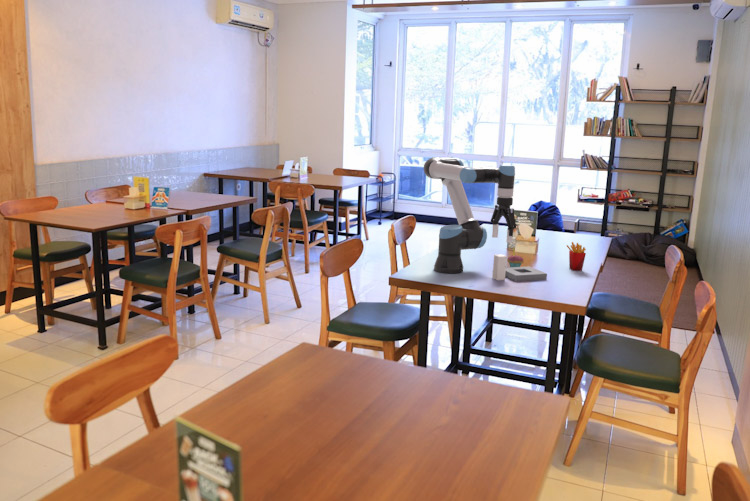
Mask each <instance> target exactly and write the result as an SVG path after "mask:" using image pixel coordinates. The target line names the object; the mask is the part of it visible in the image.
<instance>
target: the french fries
mask: <svg viewBox="0 0 750 501" xmlns="http://www.w3.org/2000/svg"><path fill="white" fill-rule="evenodd" d="M566 247H567V249H568V251H569V252H568V253H569V254H568V257H569V258H568V259H569V260H568V261H569V270H571V271H574V272H577V271H579V272H582V271H583V267H584V263H585V259H586V254H587V253H586V252H585V251H586V247H585V246H583V247H582V244H579V242H576V244H575V243H574V241H572V242H571V245H570V246H569V245H568V244H566Z"/></svg>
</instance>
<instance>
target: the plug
mask: <svg viewBox="0 0 750 501" xmlns="http://www.w3.org/2000/svg"><path fill="white" fill-rule="evenodd" d="M507 257H508V256H507V255H504V254H503V253H502V254H494V255H493V267H492V277H491V278H492V279H493V278H494V279H493V280H495V279H496V280H495V281H505V280H506V277H505V272H506V268H507V260H508V258H507Z"/></svg>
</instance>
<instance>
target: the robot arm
mask: <svg viewBox="0 0 750 501" xmlns="http://www.w3.org/2000/svg"><path fill="white" fill-rule="evenodd" d="M423 173H424V175H425V176H426V177H427V178H429V179H433V180H434V179H435V180H441V183H442V185H443V186H445V187H446V189H447V192H448V195H449V198H450V201H451V204H452V208H453V211H454V214H455V217H456V220H457V224H447V225H444V226H441V228H440V229H439V234H438V249H437V250H438V252H437V253H438V254H437V257H436V260H435V262H434V266H433V270H434V271H435V272H439V273H443V274H460V273H464V265H463V261H462V255H461V254H462V250H465V251H466V250H476V249H481V248H482V247H484V246H485V245H486V243H487V240H488V232H487V229H486V228H485V227H484V226H482V225H480V223H479V220H478V219H475V218H474V215H473V211H472V209H471V205H470V202H469V200H468V197H467V193H466V191H465V188H464V185H463V184H489V183H491V184H497V198H496V204H495V205H494V210H493V213H492V215H491V219H490V223H491V224H492V235H491V237H492V238H499V237H498V236H499V226H500V225H499V222H500V220H501V219H502V217H503V218H504V219H505V222H506V225H507V230H506V243H509V244H510V243H513V235H514V230H515V229H517V222H516V218H515V208H514V207H513V208H511V206H512V205H513V202H514V201H513V200H514V199H513V197H514V187H515V176H516V167H515V165H514V164H500V165H499V167H494V166H485V167H472V166H465V165H464V162H463V161H462V160H461V159H460V158H459V157H453V156H449V157H448V156H447V157H444V156H442V157H441V156H439V157H431V158H429V159H427V160H426V161H425V163H424V164H423Z"/></svg>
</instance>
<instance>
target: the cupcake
mask: <svg viewBox="0 0 750 501" xmlns="http://www.w3.org/2000/svg"><path fill="white" fill-rule="evenodd" d="M512 253H513V255H510V256H507V257H508V258H507V260H506V262H508V264H509V267H522V266H521V265H522V264H524V262H525V261H524V258H523V257H522V256H520V255H515V247H514V246H513V247H512Z"/></svg>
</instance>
